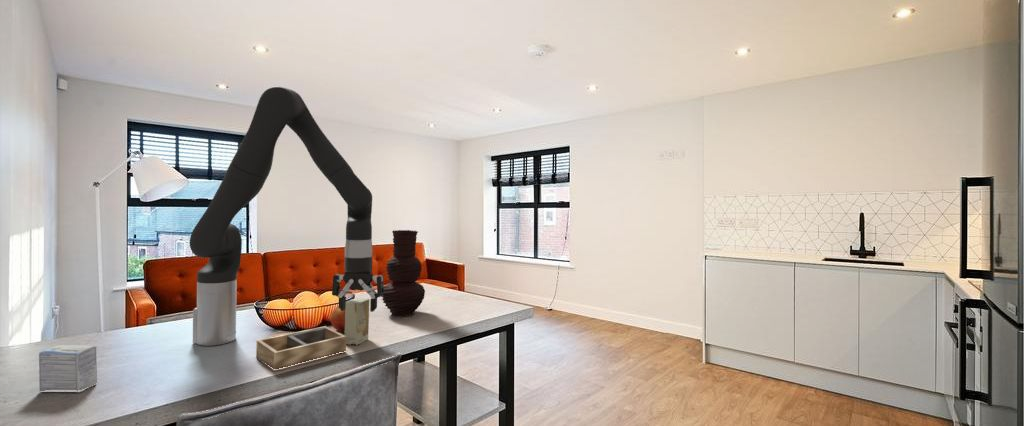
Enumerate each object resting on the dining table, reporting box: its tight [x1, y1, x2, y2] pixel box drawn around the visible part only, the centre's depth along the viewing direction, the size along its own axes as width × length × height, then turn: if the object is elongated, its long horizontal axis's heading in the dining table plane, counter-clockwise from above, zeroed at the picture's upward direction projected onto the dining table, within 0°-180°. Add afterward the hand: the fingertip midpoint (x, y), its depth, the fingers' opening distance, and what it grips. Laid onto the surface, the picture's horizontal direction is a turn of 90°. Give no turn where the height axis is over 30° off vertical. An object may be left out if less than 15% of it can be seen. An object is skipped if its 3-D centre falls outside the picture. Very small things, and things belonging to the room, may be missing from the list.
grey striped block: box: [38, 344, 98, 392], centre depth 91 cm, size 8×4×9 cm, turn 92°
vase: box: [380, 229, 426, 318], centre depth 156 cm, size 15×15×30 cm
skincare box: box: [344, 297, 370, 346], centre depth 126 cm, size 6×4×12 cm
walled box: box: [255, 325, 347, 369], centre depth 114 cm, size 18×12×4 cm, turn 139°
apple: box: [329, 305, 345, 332], centre depth 135 cm, size 8×8×8 cm
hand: (358, 310), depth 125 cm, fingers open, 8 cm apart
